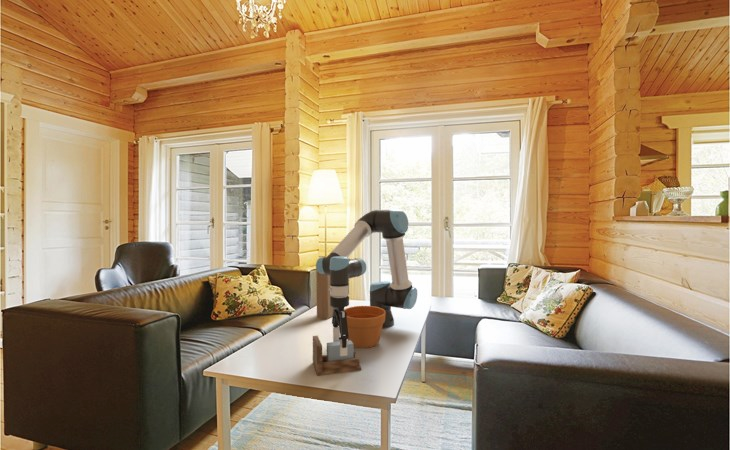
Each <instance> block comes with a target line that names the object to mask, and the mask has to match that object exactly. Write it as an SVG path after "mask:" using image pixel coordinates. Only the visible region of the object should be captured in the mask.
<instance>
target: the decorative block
mask: <svg viewBox="0 0 730 450" xmlns="http://www.w3.org/2000/svg"><path fill="white" fill-rule="evenodd" d="M315 270H316V275H315V276H316V319H319V318H320V319H321V320H328V319H330V318H332V317H333V307H332V306H331V305H330V297H331V295H330V290H329V288H330V275H325V274H321V273H319V272H318V271H317V269H316V268H315Z"/></svg>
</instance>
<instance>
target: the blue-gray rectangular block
mask: <svg viewBox="0 0 730 450" xmlns="http://www.w3.org/2000/svg"><path fill="white" fill-rule="evenodd" d="M353 352H354V346H353V342H352V341H351V340H349V341H348V340H347V356H340V342H333V341H332V342H326V355H327V362H328V361H336V360H344V359H352V358H354V357H353Z"/></svg>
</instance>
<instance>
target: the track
mask: <svg viewBox="0 0 730 450" xmlns="http://www.w3.org/2000/svg"><path fill="white" fill-rule="evenodd" d="M353 357H354V358H352V359H344V360H336V361H328V362H327V354H323V344H322V342H321V340H320V338H319V336H318V335H312V364H313V367H314V371H315V373H316V376H317V377H319V376H326V375H327V376H328V375H333V374H334V375H335V374H340V373H349V372H355V371H356V372H357V371H361V370H362V366H361V362H360V360H361V358H360V357H356V351H355V350H353Z"/></svg>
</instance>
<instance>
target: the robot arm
mask: <svg viewBox="0 0 730 450" xmlns="http://www.w3.org/2000/svg"><path fill="white" fill-rule="evenodd" d="M408 230H409V219H408V216H407V214H406V212H405V211H404V210H402V209H394V208H393V209H391V208H390V209H374V210H371V211H369V212H367V213H365V214H364V215H362V216H361V217H360V218H359V219H358V220H357V221H355V223H354V227H353V228H352V229H351V230H350V231H349V232H348V233H347V235H345V237H344V238H343V239H342V240H341V241H340V242H339V243H338V244H337V245H336V246H335V248H334V249H332V250H331V252H330V253H329V254H328V255H327V256H320V257H318V259H317V260H316V263H315V270H316V269H317V271H318V272H319V273H321V274H325V275H330V288H329V290H330V295H331V297H330V305H331V306H332V307H333V316H332V317H331V318H332V319H331V325H332V342H340V356H347V341H348V339H349V335H348V325H347V312H345V311H344V309H345V308H348V306H350V296H349V295H350V279H352V278H358V277H361V276H362V275H364V274H365V273H366V271H367V264H366V262H365V260H364V259H362V258H355V257H354V258H349V257H350V256H351V255H352V254H353V252H354V251H355V250H356V249H357V248H358V246H360V244H361V243H362V242H363V241H364V240H365V239H366V238H368V237H370V236H371V235H372V234H374V233H381V236H382V239H384V240H385V242H386V247H387V249H386V250H387V254H388V255H387V256H388V263H389V268H390V274H391V275H390V276H391V281H390V280H389V281H388V280H387V281H386V280H384V281H377V282H372V283H371V284H370V285H369V306H374V307H379V308H382V309H384V310H385V312H386V316H385V322H384V323H383V326H382V329H383V328H389V327H393V326H394V325H395V318H394V315H393V312H392V309H391V308H398V309H403V310H411V309H413V308H414V307H415V305H416V303H417V299H418V289H417V287H415V286H413V282H412V281H411V280H410V279H409V274H408V267H407V266H408V265H407V258H406V252H405V244H404V238H405V235H406V233H407V231H408Z"/></svg>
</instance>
